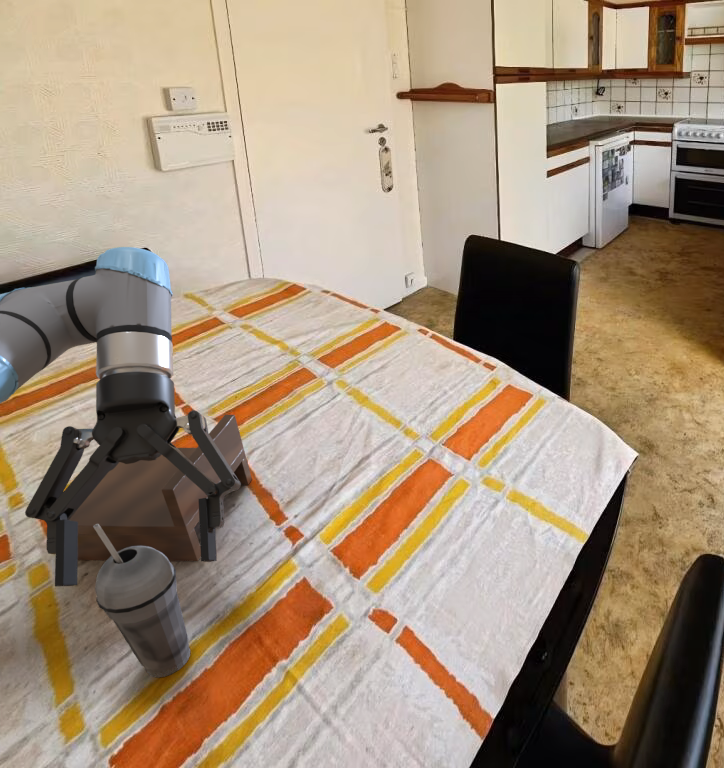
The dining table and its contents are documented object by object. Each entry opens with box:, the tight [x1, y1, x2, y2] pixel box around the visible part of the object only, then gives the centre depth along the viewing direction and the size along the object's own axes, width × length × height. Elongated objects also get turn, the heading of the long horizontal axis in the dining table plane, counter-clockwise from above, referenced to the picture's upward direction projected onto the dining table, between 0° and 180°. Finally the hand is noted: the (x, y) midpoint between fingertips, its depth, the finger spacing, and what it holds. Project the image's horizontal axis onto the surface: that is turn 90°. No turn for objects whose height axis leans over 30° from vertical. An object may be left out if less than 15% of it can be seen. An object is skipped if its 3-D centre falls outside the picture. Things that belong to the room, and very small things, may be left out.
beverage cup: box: [94, 524, 191, 678], centre depth 65 cm, size 7×7×20 cm
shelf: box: [70, 414, 253, 562], centre depth 88 cm, size 18×18×12 cm
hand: (139, 573), depth 64 cm, fingers open, 13 cm apart
